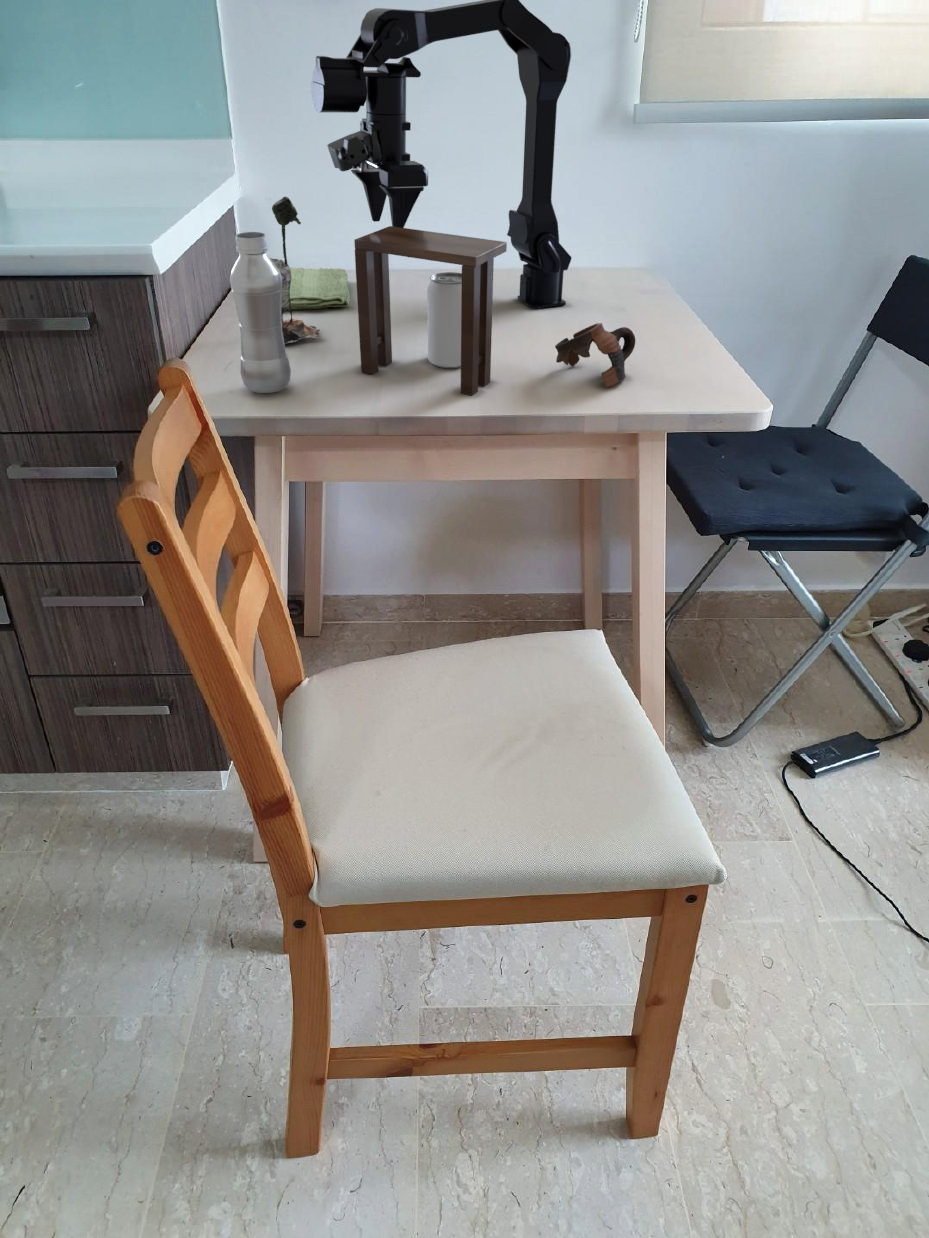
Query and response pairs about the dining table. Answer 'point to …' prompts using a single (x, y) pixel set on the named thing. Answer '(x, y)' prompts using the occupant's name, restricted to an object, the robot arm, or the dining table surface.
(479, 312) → the desk
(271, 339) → the plastic bottle
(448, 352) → the can
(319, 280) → the washcloth
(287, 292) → the plant with pod
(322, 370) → the dining table surface
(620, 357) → the brown jagged looped part
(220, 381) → the dining table surface
